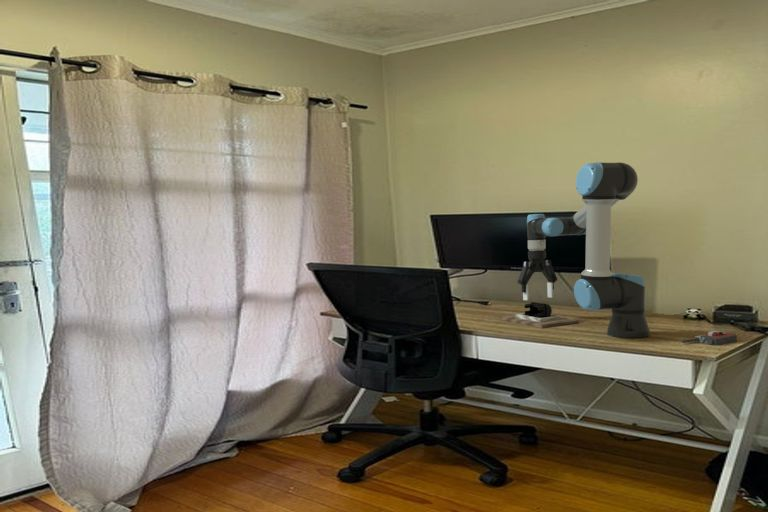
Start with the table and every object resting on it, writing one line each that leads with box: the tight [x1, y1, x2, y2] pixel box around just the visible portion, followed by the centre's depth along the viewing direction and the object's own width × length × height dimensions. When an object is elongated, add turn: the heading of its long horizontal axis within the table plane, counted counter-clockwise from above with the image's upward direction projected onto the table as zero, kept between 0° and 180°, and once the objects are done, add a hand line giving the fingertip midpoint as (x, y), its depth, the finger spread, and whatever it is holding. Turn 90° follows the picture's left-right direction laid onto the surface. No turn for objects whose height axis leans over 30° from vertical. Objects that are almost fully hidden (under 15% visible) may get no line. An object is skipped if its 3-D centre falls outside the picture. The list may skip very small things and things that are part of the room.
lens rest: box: [499, 312, 580, 329], centre depth 284 cm, size 28×20×3 cm
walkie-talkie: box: [681, 330, 738, 346], centre depth 229 cm, size 9×4×20 cm
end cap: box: [524, 301, 553, 318], centre depth 284 cm, size 10×7×7 cm
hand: (538, 298), depth 283 cm, fingers open, 13 cm apart
